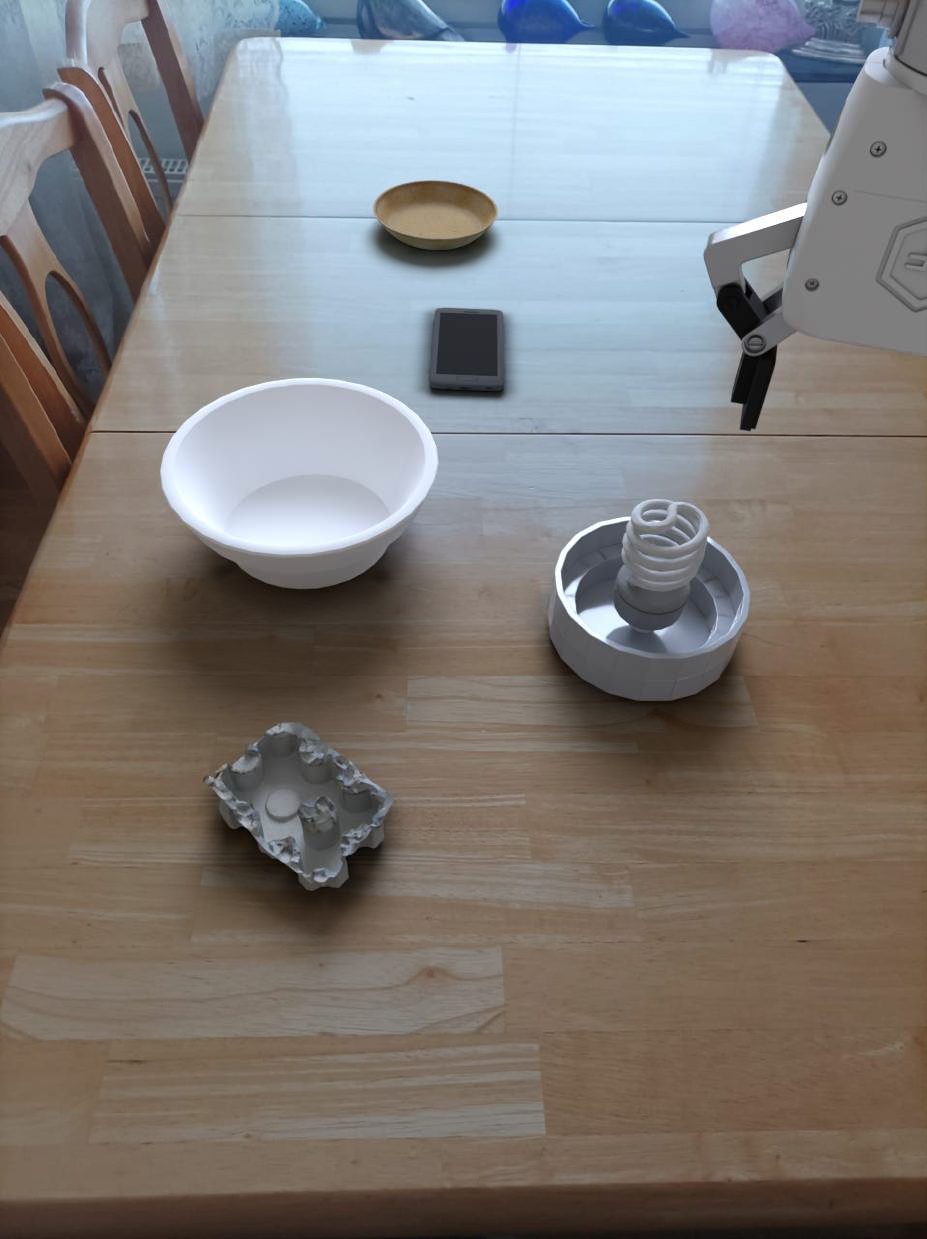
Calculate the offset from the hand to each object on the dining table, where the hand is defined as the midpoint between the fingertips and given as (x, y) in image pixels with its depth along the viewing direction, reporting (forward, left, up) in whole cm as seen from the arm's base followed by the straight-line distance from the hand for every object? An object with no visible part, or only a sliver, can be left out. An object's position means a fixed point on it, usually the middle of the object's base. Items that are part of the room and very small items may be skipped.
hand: (849, 432), depth 45 cm
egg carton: (+19, +21, -27) cm, 39 cm away
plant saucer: (+59, -48, -27) cm, 81 cm away
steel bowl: (+9, -6, -27) cm, 29 cm away
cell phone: (+41, -29, -27) cm, 57 cm away
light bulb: (+9, -6, -26) cm, 28 cm away
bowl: (+36, +1, -27) cm, 45 cm away
